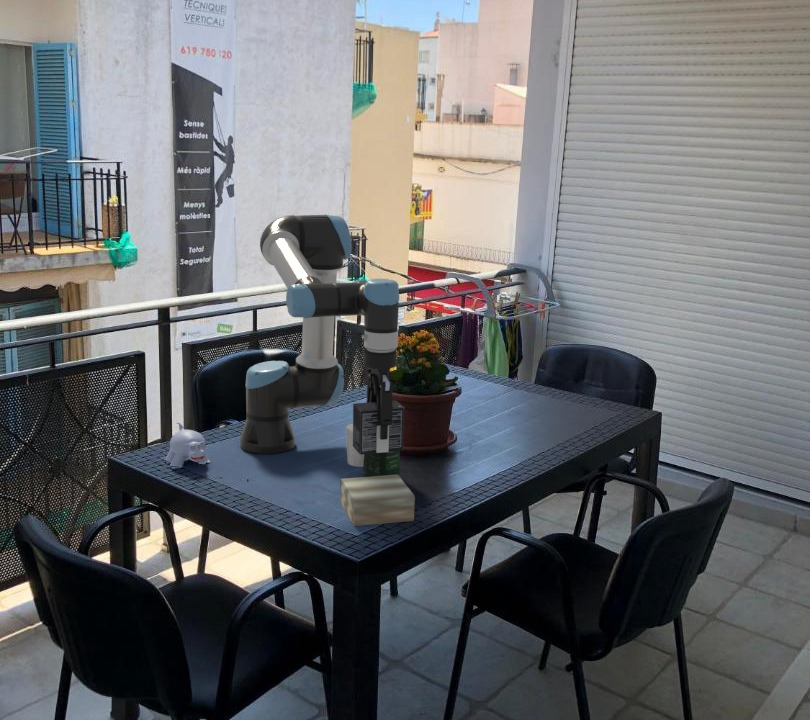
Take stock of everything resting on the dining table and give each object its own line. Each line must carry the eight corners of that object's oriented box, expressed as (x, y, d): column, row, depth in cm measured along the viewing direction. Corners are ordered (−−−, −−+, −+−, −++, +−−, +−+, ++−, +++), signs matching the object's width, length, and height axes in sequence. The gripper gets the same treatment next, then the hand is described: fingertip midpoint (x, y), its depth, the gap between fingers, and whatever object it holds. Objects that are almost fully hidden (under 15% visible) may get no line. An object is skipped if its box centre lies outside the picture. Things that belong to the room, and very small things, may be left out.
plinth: (340, 502, 221) (341, 478, 220) (397, 497, 225) (397, 474, 224) (354, 526, 208) (354, 500, 207) (413, 520, 212) (414, 496, 211)
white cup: (378, 459, 251) (379, 424, 249) (369, 469, 244) (370, 433, 241) (350, 456, 253) (351, 421, 251) (341, 465, 246) (341, 429, 243)
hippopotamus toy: (178, 476, 235) (177, 441, 233) (160, 459, 247) (159, 424, 245) (219, 469, 240) (218, 434, 238) (199, 452, 253) (198, 419, 250)
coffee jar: (405, 478, 238) (407, 409, 234) (381, 485, 233) (382, 414, 229) (381, 468, 245) (383, 400, 241) (357, 474, 240) (359, 405, 236)
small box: (394, 441, 218) (396, 398, 215) (404, 451, 212) (405, 407, 209) (351, 445, 214) (352, 402, 211) (359, 455, 208) (361, 410, 206)
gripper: (354, 340, 216) (352, 434, 221) (375, 359, 197) (372, 462, 203) (385, 339, 218) (383, 432, 223) (408, 358, 199) (405, 459, 205)
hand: (378, 446), depth 213 cm, fingers closed on small box, 6 cm apart
